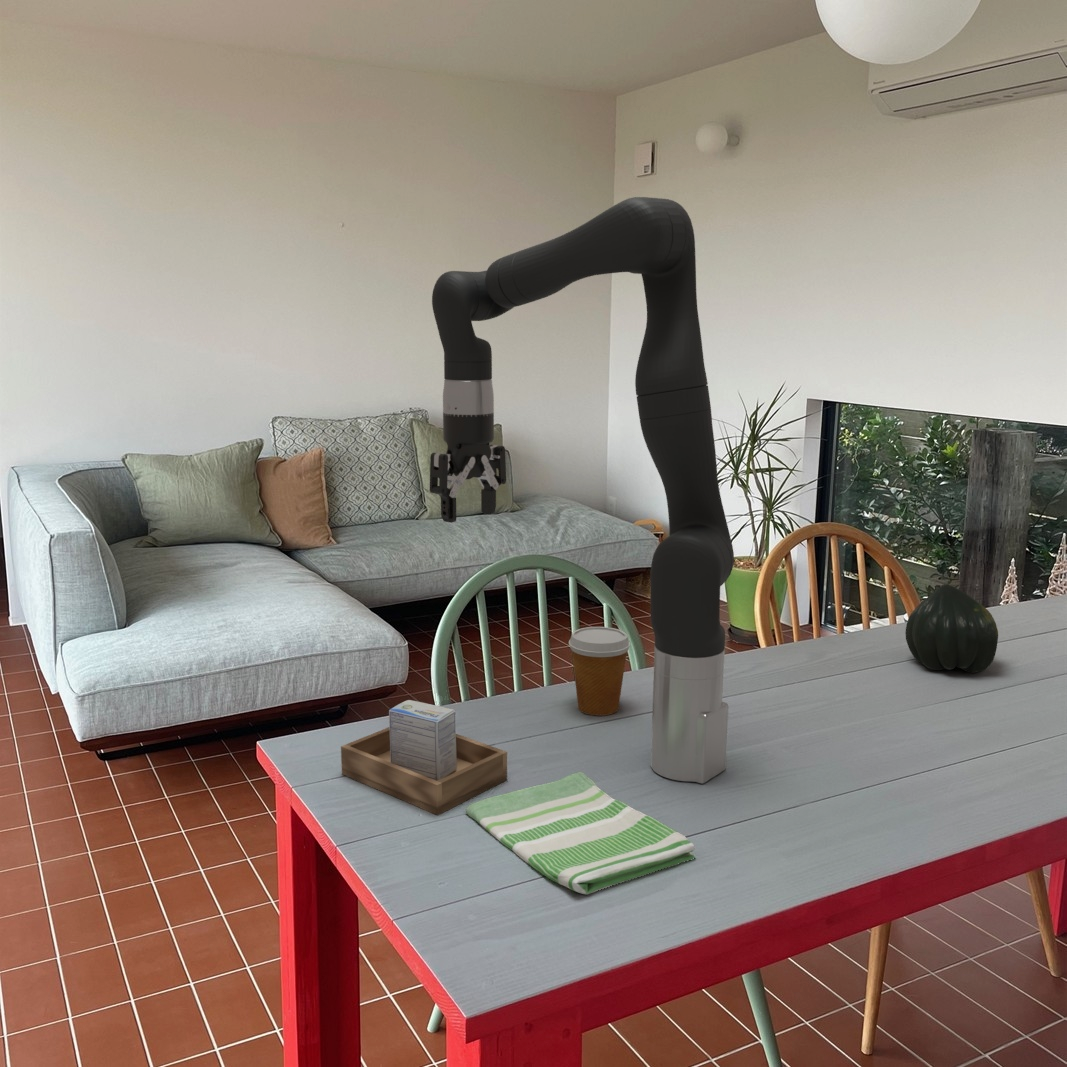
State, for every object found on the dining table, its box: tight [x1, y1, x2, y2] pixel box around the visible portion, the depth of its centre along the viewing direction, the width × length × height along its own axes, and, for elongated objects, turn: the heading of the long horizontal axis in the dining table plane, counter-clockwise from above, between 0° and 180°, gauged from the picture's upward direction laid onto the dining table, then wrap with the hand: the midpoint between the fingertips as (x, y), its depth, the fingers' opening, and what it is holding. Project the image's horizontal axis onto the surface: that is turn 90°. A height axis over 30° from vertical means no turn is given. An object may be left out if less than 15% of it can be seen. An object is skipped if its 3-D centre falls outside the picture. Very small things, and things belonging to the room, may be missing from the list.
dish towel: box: [465, 771, 696, 896], centre depth 125 cm, size 18×23×3 cm
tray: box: [340, 727, 508, 816], centre depth 140 cm, size 18×13×4 cm
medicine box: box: [388, 699, 457, 781], centre depth 139 cm, size 8×4×9 cm, turn 60°
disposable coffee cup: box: [568, 626, 631, 716], centre depth 163 cm, size 10×10×12 cm
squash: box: [905, 583, 999, 674], centre depth 184 cm, size 14×15×15 cm
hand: (469, 517), depth 159 cm, fingers open, 8 cm apart
